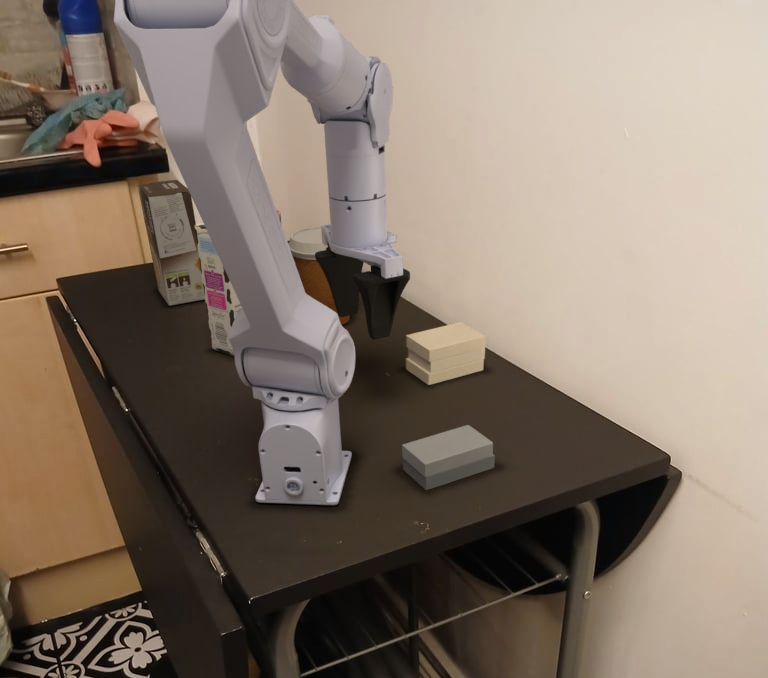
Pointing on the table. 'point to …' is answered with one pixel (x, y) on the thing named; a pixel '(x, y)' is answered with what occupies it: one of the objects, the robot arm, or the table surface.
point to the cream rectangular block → (445, 341)
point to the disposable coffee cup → (312, 266)
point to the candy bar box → (217, 292)
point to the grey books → (447, 457)
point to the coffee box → (172, 240)
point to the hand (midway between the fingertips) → (363, 325)
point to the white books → (445, 366)
